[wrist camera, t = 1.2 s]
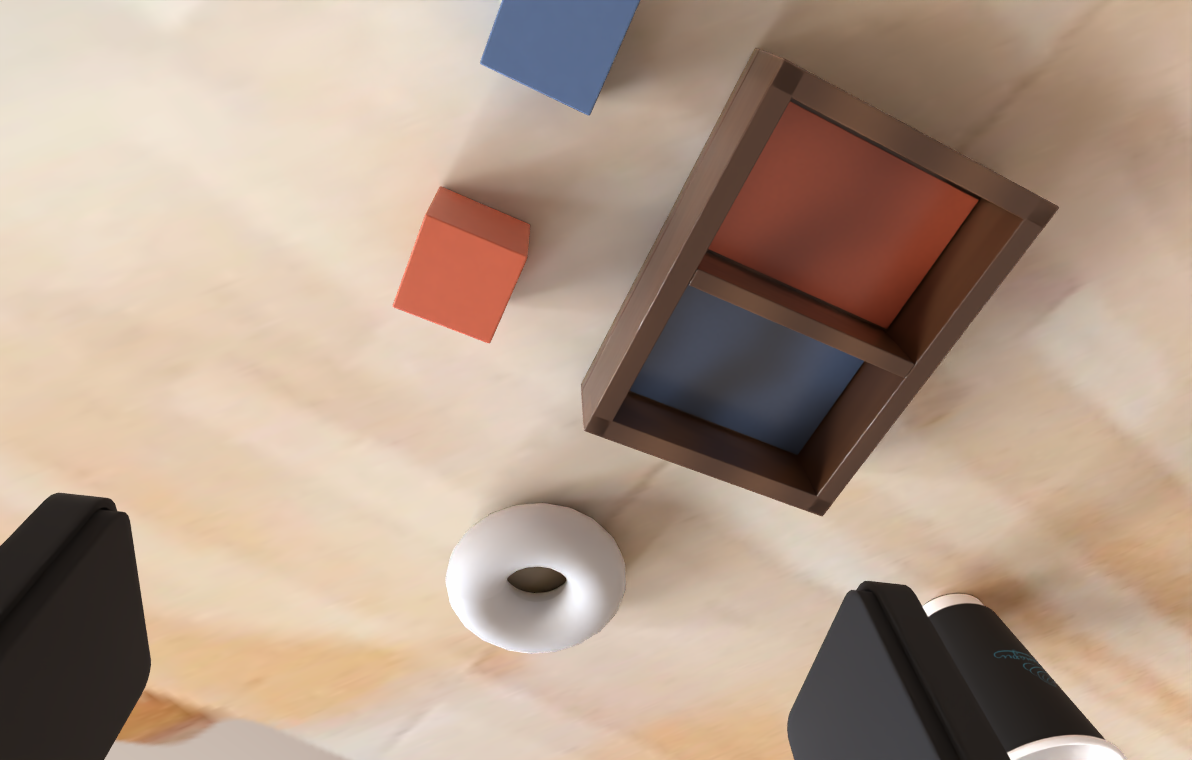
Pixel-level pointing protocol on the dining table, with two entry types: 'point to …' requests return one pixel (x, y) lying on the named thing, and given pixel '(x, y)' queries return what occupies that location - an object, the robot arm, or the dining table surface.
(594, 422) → the sorting tray
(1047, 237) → the dining table surface
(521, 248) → the terracotta block
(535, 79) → the slate block
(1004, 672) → the dixie cup
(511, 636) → the donut
